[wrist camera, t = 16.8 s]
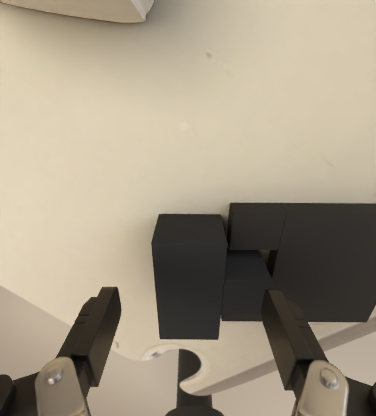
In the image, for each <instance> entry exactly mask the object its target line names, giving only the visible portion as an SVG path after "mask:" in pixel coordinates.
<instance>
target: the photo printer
mask: <svg viewBox="0 0 376 416" xmlns="http://www.w3.org/2000/svg"><path fill="white" fill-rule="evenodd" d="M154 1H155V0H0V2H2V3H6V4H11V5H16V6H20V7H25V8H30V9H35V10H40V11H45V12H51V13H57V14H63V15H69V16H76V17H83V18H90V19H97V20H105V21H112V22H121V23H137V22H145V20H146V14H147V13H148V12H149V11H150V9H151V8H152V5H153V3H154Z"/></svg>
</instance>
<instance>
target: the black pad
mask: <svg viewBox="0 0 376 416" xmlns="http://www.w3.org/2000/svg"><path fill="white" fill-rule="evenodd" d="M227 243H228V247H229V250H270V253H269V258H268V263H267V269H268V272H269V274H270V276H271V278H272V281H273V282H272V286H271V289H281V290H282V292H283V294H284V296H285V298H286V300H293V301H294V302H295V303H296V304H297V305H298V306H299V307H300V309H301V311H302V312H303V314H304V316H305V319H306V320H307V322H367V320H368V319H369V317H370V315H371V313H372V311H373V309H374V307H375V306H376V204H309V203H280V204H279V203H230V209H229V219H228V230H227ZM221 318H222V321H262V316H261V314H223V313H221Z"/></svg>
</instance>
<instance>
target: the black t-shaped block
mask: <svg viewBox="0 0 376 416" xmlns="http://www.w3.org/2000/svg"><path fill="white" fill-rule="evenodd" d="M151 244H152V256H153V267H154V278H155V289H156V301H157V312H158V323H159V335H160V339H204V340H218V337H219V327H220V317H221V313H223V314H261V307H262V303H263V298H264V293H265V290H266V289H271V286H272V282H273V281H272V278H271V276H270V274H269V272H268V269H267V267H266V265H265V263H264V260H263V258H262V256H261V254H260V251H259V250H229V247H227V239H226V235H225V232H224V228H223V224H222V220H221V216H220V215H206V214H159V216H158V220H157V224H156V227H155V231H154V235H153V239H152V243H151Z"/></svg>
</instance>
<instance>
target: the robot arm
mask: <svg viewBox="0 0 376 416" xmlns="http://www.w3.org/2000/svg"><path fill="white" fill-rule="evenodd" d="M120 316H121V303H120V297H119V292H118V288H117V287H102V288H101V290H100V292H99V295H98V297H91V298H90V299H89V300H88V301H87V302H86V303H85V304H84V305H83V307H82V309H81V311H80V313H79V316H78V317H77V318H76V320H75V323H74V324H73V326H72V328H71V330H70V332H69V334H68V336H67V338H66V340H65V342H64V344H63V345H62V347H61V349H60V351H59V353H58V355H57V356H56V358H55V359H54V360H52V361H50V362H49V363H47V364H46V365H45V366H44V367H43V368H42V369H41V370H40V371H39V372H37V373H35V374H32V375H29V376H26V377H22V378H19V379H16V380H13V381H12V379H11V378H10V376H8V375H0V416H91V413H90V409H89V406H88V402H87V399H86V397H87V394H88V392H89V389H90V387H98V385H99V382H100V379H101V376H102V373H103V370H104V367H105V363H106V360H107V357H108V354H109V351H110V348H111V345H112V342H113V339H114V336H115V333H116V329H117V326H118V323H119V320H120ZM261 316H262V321H263V324H264V327H265V330H266V333H267V337H268V340H269V343H270V346H271V349H272V352H273V355H274V358H275V361H276V364H277V367H278V370H279V373H280V377H281V379H282V383H283V386H284V389H285V390H293V391H294V394H295V397H296V401H295V404H294V407H293V411H292V415H291V416H376V383H375V384H374V385H373V386H370V385H367V384H364V383H361V382H358V381H356V380H352V379H350V378H348V377H346V376H344V375H343V374H342V372H341V371H340V370H339V369H338V368H337V367H335V366H334V365H332V364H331V363H329V361H328V360H327V358H326V356H325V354H324V352H323V350H322V349H321V347H320V345H319V343H318V341H317V339H316V337H315V335H314V333H313V331H312V330H311V328H310V327H309V324H308V322H307V320H306V319H305V316H304V314H303V312H302V311H301V309H300V307H299V306H298V305H297V304H296V303H295V302H294V301H293V300H286V298H285V296H284V294H283V292H282V290H281V289H266V290H265V293H264V298H263V303H262V307H261Z"/></svg>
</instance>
